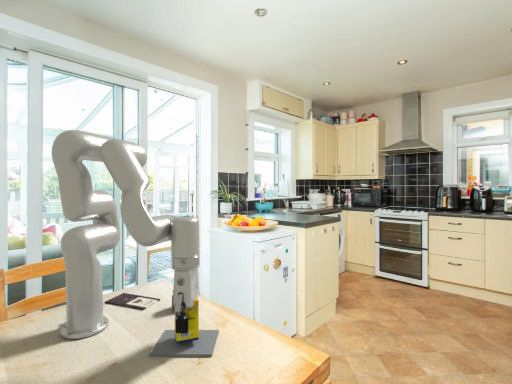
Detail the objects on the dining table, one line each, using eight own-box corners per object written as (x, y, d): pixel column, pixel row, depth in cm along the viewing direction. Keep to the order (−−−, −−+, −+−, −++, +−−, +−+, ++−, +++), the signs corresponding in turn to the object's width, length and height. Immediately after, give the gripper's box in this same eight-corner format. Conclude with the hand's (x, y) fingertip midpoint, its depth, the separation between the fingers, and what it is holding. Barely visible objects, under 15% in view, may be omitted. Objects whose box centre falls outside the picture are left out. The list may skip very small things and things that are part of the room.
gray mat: (149, 356, 71) (149, 354, 71) (165, 331, 83) (165, 329, 83) (211, 356, 71) (211, 354, 71) (218, 331, 83) (218, 329, 83)
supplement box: (199, 340, 75) (199, 300, 75) (176, 344, 73) (176, 303, 73) (195, 329, 81) (195, 292, 81) (174, 333, 79) (174, 295, 79)
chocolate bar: (123, 292, 112) (160, 298, 106) (123, 295, 112) (160, 301, 106) (104, 301, 104) (142, 308, 98) (104, 304, 104) (143, 311, 98)
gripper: (191, 271, 68) (192, 342, 68) (205, 253, 85) (205, 310, 86) (160, 271, 68) (161, 342, 68) (181, 253, 85) (181, 310, 86)
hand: (186, 324), depth 77 cm, fingers closed on supplement box, 7 cm apart
